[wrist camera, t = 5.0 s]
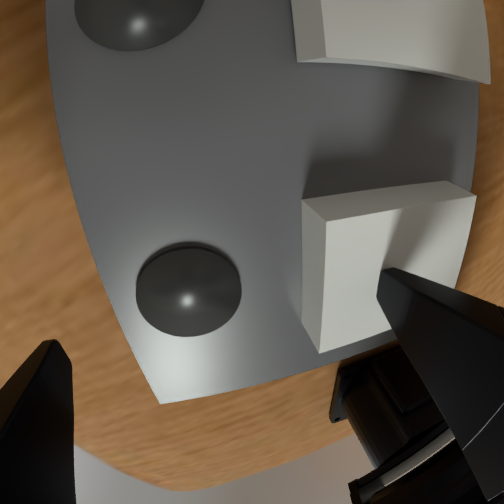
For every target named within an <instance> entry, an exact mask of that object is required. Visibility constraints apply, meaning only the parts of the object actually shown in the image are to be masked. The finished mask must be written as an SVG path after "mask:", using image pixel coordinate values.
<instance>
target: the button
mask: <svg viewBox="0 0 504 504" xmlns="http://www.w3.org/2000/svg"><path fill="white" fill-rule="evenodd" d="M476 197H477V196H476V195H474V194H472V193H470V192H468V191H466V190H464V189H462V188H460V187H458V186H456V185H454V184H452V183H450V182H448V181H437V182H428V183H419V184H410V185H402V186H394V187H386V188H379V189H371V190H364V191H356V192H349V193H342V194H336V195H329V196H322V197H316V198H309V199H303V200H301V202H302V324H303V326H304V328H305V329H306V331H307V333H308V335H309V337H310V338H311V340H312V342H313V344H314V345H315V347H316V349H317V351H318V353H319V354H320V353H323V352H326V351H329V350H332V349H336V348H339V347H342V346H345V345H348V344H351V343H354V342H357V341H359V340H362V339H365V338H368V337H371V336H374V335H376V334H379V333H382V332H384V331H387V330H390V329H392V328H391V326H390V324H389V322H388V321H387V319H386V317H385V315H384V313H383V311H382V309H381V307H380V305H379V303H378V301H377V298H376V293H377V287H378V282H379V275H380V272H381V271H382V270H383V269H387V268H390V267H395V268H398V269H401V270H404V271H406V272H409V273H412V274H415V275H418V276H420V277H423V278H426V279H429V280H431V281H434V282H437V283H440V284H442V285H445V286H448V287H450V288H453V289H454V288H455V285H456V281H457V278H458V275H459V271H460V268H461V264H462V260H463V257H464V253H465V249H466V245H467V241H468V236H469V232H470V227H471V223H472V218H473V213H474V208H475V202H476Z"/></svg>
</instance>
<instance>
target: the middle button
mask: <svg viewBox="0 0 504 504" xmlns="http://www.w3.org/2000/svg"><path fill="white" fill-rule="evenodd" d="M291 5H292V14H293V23H294V33H295V44H296V55H297V62H321V63H344V64H358V65H369V66H379V67H388V68H396V69H403V70H409V71H416V72H422V73H427V74H433V75H438V76H443V77H447V78H452V79H457V80H464V81H471V82H477V83H483V84H489V85H491V76H490V54H489V42H488V32H487V23H486V16H485V9H484V3H483V0H291Z"/></svg>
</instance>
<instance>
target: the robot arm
mask: <svg viewBox="0 0 504 504" xmlns="http://www.w3.org/2000/svg"><path fill="white" fill-rule="evenodd" d="M376 298H377V301H378V303H379V305H380V307H381V309H382V311H383V313H384V315H385V317H386V319H387V321H388V322H389V324H390V326H391V328H392V330H393V332H394V334H395V336H396V338H397V340H398V342H399V344H400V345H401V346H399V347H396V348H394V349H391V350H389V351H386V352H384V353H381V354H379V355H376V356H374V357H371V358H368V359H366V360H363V361H360V362H358V363H355V364H352V365H349V366H346V367H344V368H342V369H341V370H340V371H339V372H338V376H337V381H336V386H335V391H334V396H333V401H332V406H331V411H330V416H329V419H330V421H331V423H336V422H339V421H342V420H344V419H347V418H348V420H349V422H350V424H351V426H352V428H353V430H354V431H355V433H356V435H357V437H358V439H359V441H360V443H361V444H362V446H363V448H364V450H365V452H366V453H367V456H368V458H369V459H370V461H371V463H372V465H373V467H374V469H375V470H373V471H371V472H370V473H368V474H367V475H365V476H363V477H361V478H360V479H355V480H354V481H352V482H350V483H348V486H349V490H350V493H351V494H350V497H351V501H352V504H504V308H503V307H500V306H498V307H497V305H495V304H493V303H490V302H487V301H485V300H482V299H480V298H477V297H474V296H472V295H469V294H466V293H464V292H461V291H458V290H456V289H453V288H450V287H448V286H445V285H442V284H440V283H437V282H434V281H431V280H429V279H426V278H423V277H420V276H418V275H415V274H412V273H409V272H406V271H404V270H401V269H398V268H395V267H390V268H387V269H383V270H382V271H381V272H380V275H379V282H378V287H377V293H376ZM453 437H455V439H454V440H453V441H451V442H450V443H449V444H448V445H446V446H445V447H444V448H442V449H441V450H440V451H439V452H437V453H436V454H434V455H433V456H432V457H430V458H429V459H427V460H426V461H425V462H423V463H422V464H420V465H419V466H418V467H416V468H414V469H413V470H411V471H410V472H408V473H407V474H406V475H404V476H402V477H401V478H399V479H397V480H396V481H394V482H392V483H391V484H389V485H387V486H386V487H385V486H384V485H386V484H387V483H389V482H391V481H392V480H394V479H396V478H397V477H399V476H400V475H402V474H403V473H405V472H407V471H408V470H410V469H411V468H413V467H414V466H416V465H417V464H418V463H420V462H421V461H423V460H424V459H426V458H427V457H428V456H430V455H431V454H432V453H434V452H435V451H436V450H438V449H439V448H441V447H442V446H443V445H444V444H446V443H447V442H448V441H450V440H451V439H452V438H453ZM0 504H76V494H75V478H74V405H73V383H72V364H71V361H70V359H69V357H68V356H67V354H66V353H65V351H64V349H63V348H62V346H61V344H60V343H59V342H58V341H57V340H55V339H52V340H45V341H43V342H42V343H41V344H40V345H39V346H38V347H37V348H36V349H35V350H34V352H33V353H32V354H31V355H30V356H29V357H28V358H27V359H26V360H25V362H24V363H23V364H22V365H21V366H20V367H19V368H18V369H17V371H16V372H15V373H14V374H13V375H12V376H11V378H10V379H9V380H8V381H7V382H6V383H5V385H4V386H3V387H2V388H1V389H0Z"/></svg>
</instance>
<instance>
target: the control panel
mask: <svg viewBox="0 0 504 504" xmlns="http://www.w3.org/2000/svg"><path fill="white" fill-rule="evenodd" d="M45 9H46V37H47V52H48V63H49V73H50V81H51V89H52V96H53V103H54V109H55V115H56V121H57V126H58V131H59V137H60V141H61V146H62V151H63V155H64V160H65V164H66V168H67V172H68V176H69V180H70V184H71V188H72V192H73V195H74V199H75V202H76V206H77V209H78V213H79V216H80V219H81V222H82V226H83V229H84V232H85V235H86V238H87V241H88V244H89V247H90V250H91V253H92V256H93V258H94V261H95V264H96V267H97V269H98V272H99V275H100V277H101V280H102V282H103V285H104V288H105V290H106V293H107V295H108V298H109V300H110V302H111V305H112V307H113V310H114V312H115V314H116V316H117V319H118V321H119V323H120V326H121V328H122V330H123V332H124V334H125V337H126V339H127V341H128V343H129V345H130V347H131V349H132V351H133V353H134V355H135V357H136V359H137V361H138V363H139V365H140V367H141V369H142V371H143V373H144V375H145V377H146V379H147V381H148V383H149V385H150V386H151V388H152V390H153V392H154V394H155V396H156V397H157V399H158V401H159V403H160V404H164V403H170V402H177V401H182V400H188V399H194V398H199V397H204V396H209V395H214V394H219V393H224V392H228V391H233V390H237V389H241V388H246V387H250V386H254V385H258V384H262V383H266V382H270V381H273V380H277V379H281V378H284V377H288V376H292V375H295V374H299V373H302V372H305V371H309V370H312V369H315V368H318V367H321V366H325V365H328V364H331V363H334V362H337V361H340V360H343V359H346V358H349V357H351V356H354V355H357V354H360V353H363V352H365V351H368V350H371V349H373V348H376V347H379V346H381V345H384V344H387V343H389V342H392V341H394V340H397V338H396V336H395V334H394V332H393V330H392V329H390V330H387V331H384V332H382V333H379V334H376V335H374V336H371V337H368V338H365V339H362V340H359V341H357V342H354V343H351V344H348V345H345V346H342V347H339V348H336V349H332V350H329V351H326V352H323V353H320V354H319V353H318V351H317V349H316V347H315V345H314V344H313V342H312V340H311V338H310V337H309V335H308V333H307V331H306V329H305V328H304V326H303V324H302V202H301V200H303V199H309V198H316V197H322V196H329V195H336V194H342V193H349V192H356V191H364V190H371V189H379V188H386V187H394V186H402V185H410V184H419V183H428V182H437V181H448V182H450V183H452V184H454V185H456V186H458V187H460V188H462V189H464V190H466V191H468V192H470V193H471V188H472V181H473V173H474V165H475V156H476V146H477V133H478V113H479V83H477V82H471V81H464V80H457V79H452V78H447V77H443V76H438V75H433V74H427V73H422V72H416V71H409V70H403V69H396V68H388V67H379V66H369V65H358V64H344V63H321V62H297V55H296V44H295V33H294V23H293V14H292V5H291V0H45Z"/></svg>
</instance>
